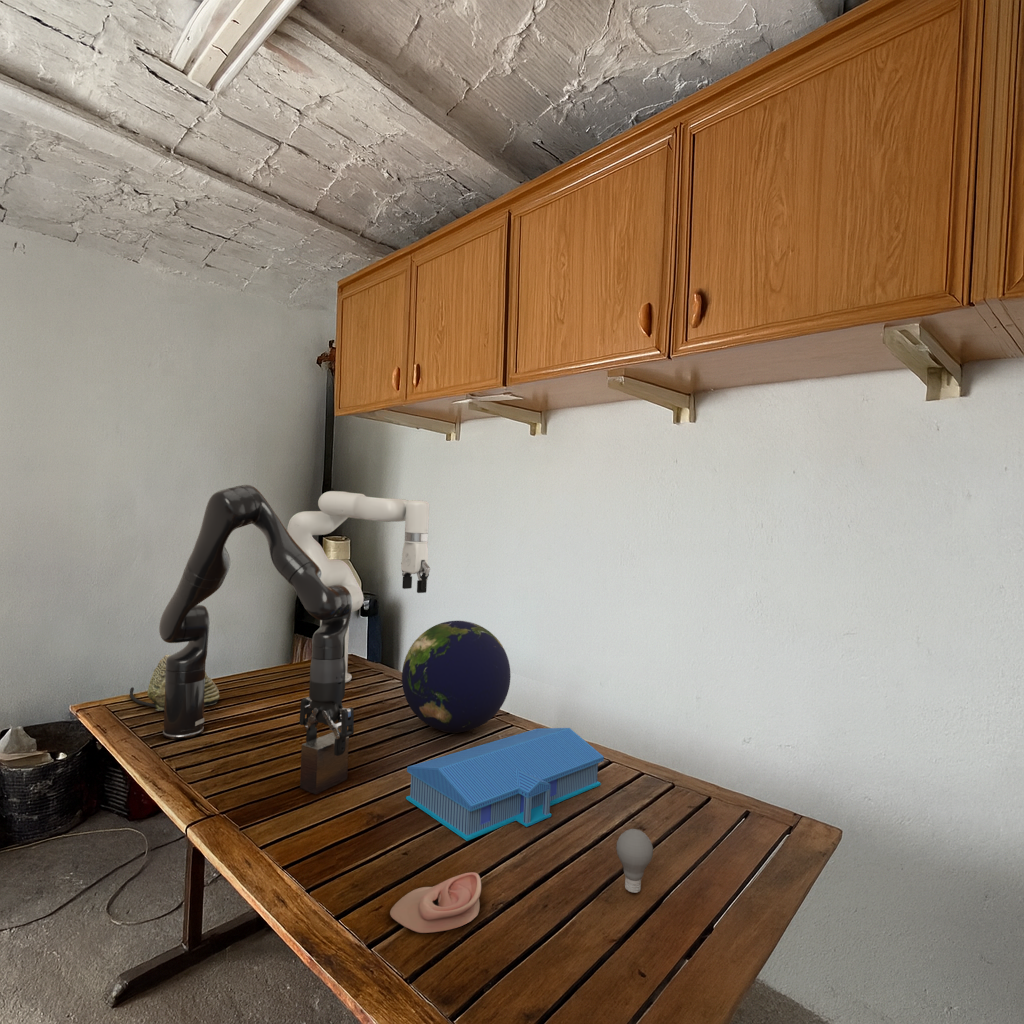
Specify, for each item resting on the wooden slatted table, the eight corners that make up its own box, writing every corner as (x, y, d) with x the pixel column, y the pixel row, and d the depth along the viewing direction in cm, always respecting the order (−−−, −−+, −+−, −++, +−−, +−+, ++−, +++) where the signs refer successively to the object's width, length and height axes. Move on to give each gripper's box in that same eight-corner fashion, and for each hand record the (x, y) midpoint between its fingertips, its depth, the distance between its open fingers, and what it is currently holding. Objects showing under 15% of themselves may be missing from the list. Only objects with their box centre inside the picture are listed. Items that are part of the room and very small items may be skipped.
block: (299, 788, 137) (301, 744, 137) (331, 773, 145) (333, 731, 145) (315, 794, 135) (317, 749, 134) (347, 779, 143) (349, 736, 142)
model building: (477, 848, 116) (480, 794, 116) (404, 798, 134) (406, 751, 134) (612, 789, 143) (614, 745, 142) (536, 754, 161) (537, 715, 161)
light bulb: (610, 879, 108) (613, 822, 108) (644, 879, 109) (647, 822, 109) (619, 902, 102) (622, 840, 102) (655, 901, 103) (658, 840, 103)
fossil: (144, 707, 182) (145, 655, 182) (212, 696, 194) (213, 647, 194) (151, 716, 175) (153, 662, 175) (221, 703, 188) (223, 653, 188)
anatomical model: (382, 899, 94) (410, 857, 105) (381, 926, 94) (409, 881, 105) (468, 915, 91) (487, 870, 103) (467, 942, 92) (486, 894, 103)
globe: (377, 737, 168) (382, 624, 167) (433, 705, 195) (437, 608, 195) (480, 759, 156) (485, 638, 156) (523, 721, 184) (528, 619, 183)
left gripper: (291, 674, 140) (289, 748, 140) (338, 686, 132) (335, 763, 133) (318, 668, 146) (315, 737, 146) (363, 678, 139) (361, 752, 139)
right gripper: (393, 536, 211) (391, 587, 211) (419, 540, 197) (416, 595, 197) (413, 536, 215) (411, 586, 216) (440, 540, 202) (437, 593, 202)
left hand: (325, 750), depth 139 cm, fingers open, 8 cm apart
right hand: (414, 590), depth 207 cm, fingers open, 9 cm apart
